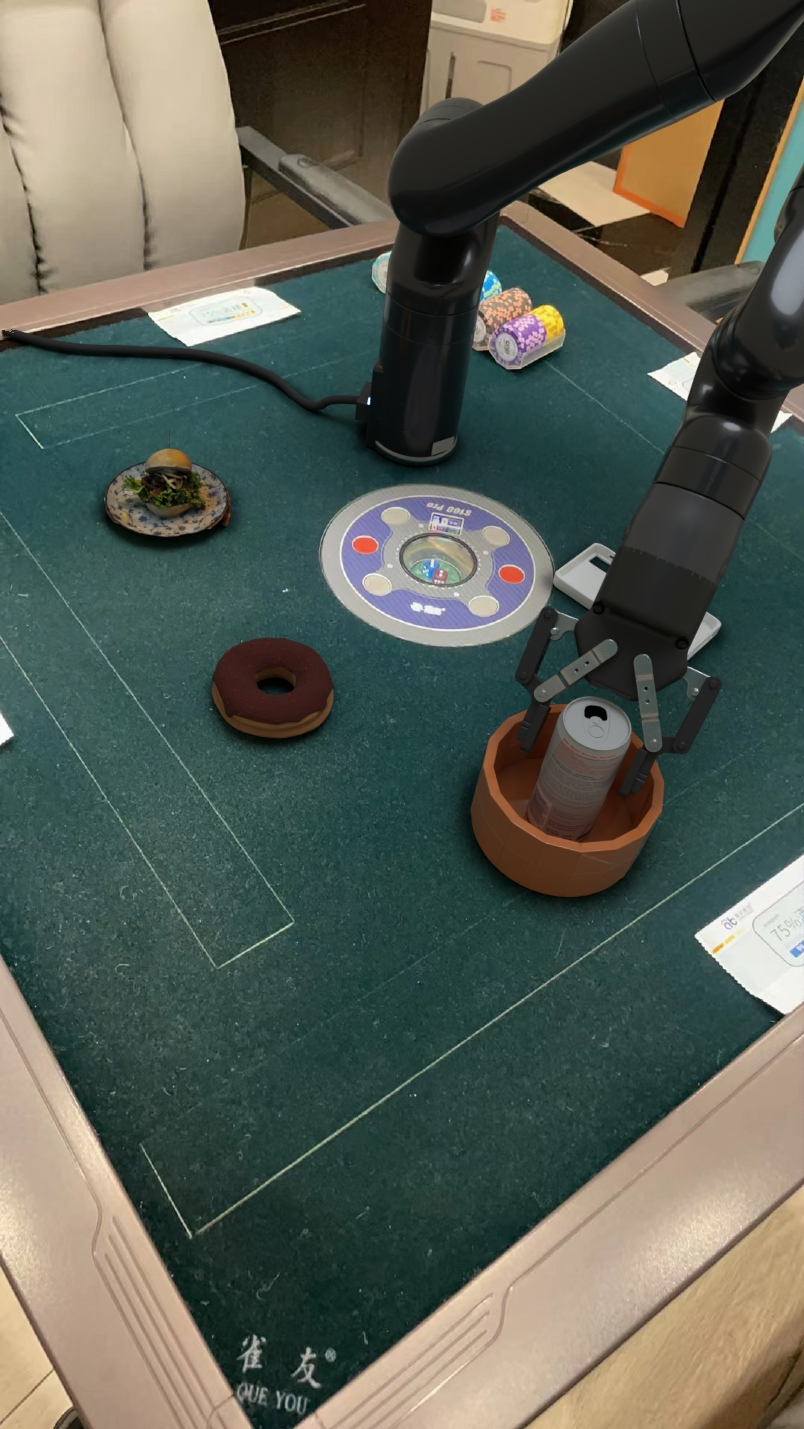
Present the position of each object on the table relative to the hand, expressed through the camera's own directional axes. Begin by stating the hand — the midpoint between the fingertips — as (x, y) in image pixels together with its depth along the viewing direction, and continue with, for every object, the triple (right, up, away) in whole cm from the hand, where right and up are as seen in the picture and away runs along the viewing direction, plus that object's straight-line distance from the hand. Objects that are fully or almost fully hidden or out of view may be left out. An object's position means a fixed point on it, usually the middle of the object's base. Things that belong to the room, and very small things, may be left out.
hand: (573, 772), depth 76 cm
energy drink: (0, -4, +7) cm, 8 cm away
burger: (-35, +24, +26) cm, 50 cm away
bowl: (0, -4, +7) cm, 9 cm away
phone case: (+10, +14, +25) cm, 30 cm away
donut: (-23, +5, +12) cm, 27 cm away
